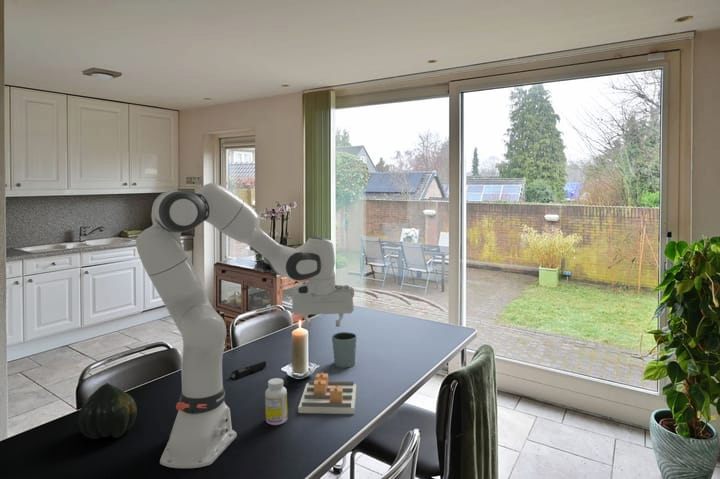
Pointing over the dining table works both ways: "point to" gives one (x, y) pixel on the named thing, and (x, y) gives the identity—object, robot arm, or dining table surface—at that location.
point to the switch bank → (328, 399)
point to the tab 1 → (322, 377)
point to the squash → (107, 413)
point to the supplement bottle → (276, 402)
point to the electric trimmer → (247, 370)
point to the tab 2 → (320, 387)
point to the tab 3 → (336, 394)
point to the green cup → (344, 349)
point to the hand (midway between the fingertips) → (323, 326)
